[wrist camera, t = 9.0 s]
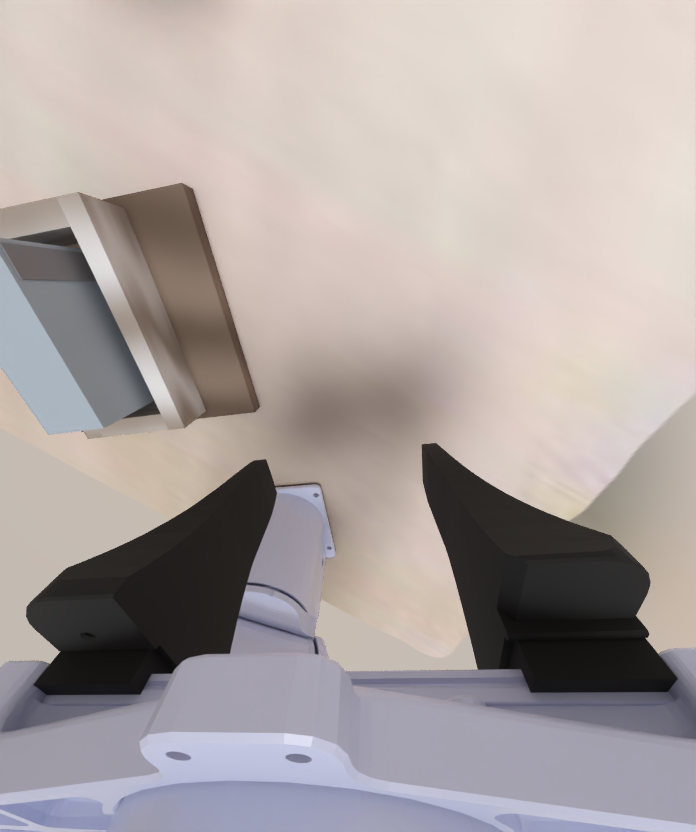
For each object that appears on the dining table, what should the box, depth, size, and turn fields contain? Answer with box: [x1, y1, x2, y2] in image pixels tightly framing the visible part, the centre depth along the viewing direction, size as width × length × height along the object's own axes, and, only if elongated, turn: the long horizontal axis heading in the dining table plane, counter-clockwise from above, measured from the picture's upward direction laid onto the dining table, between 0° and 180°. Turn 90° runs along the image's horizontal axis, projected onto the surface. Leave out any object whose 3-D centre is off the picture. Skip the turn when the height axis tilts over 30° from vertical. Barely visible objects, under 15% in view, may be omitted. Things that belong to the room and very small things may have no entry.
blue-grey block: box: [0, 238, 154, 435], centre depth 16 cm, size 9×4×6 cm, turn 8°
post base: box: [0, 183, 259, 439], centre depth 18 cm, size 14×15×4 cm
